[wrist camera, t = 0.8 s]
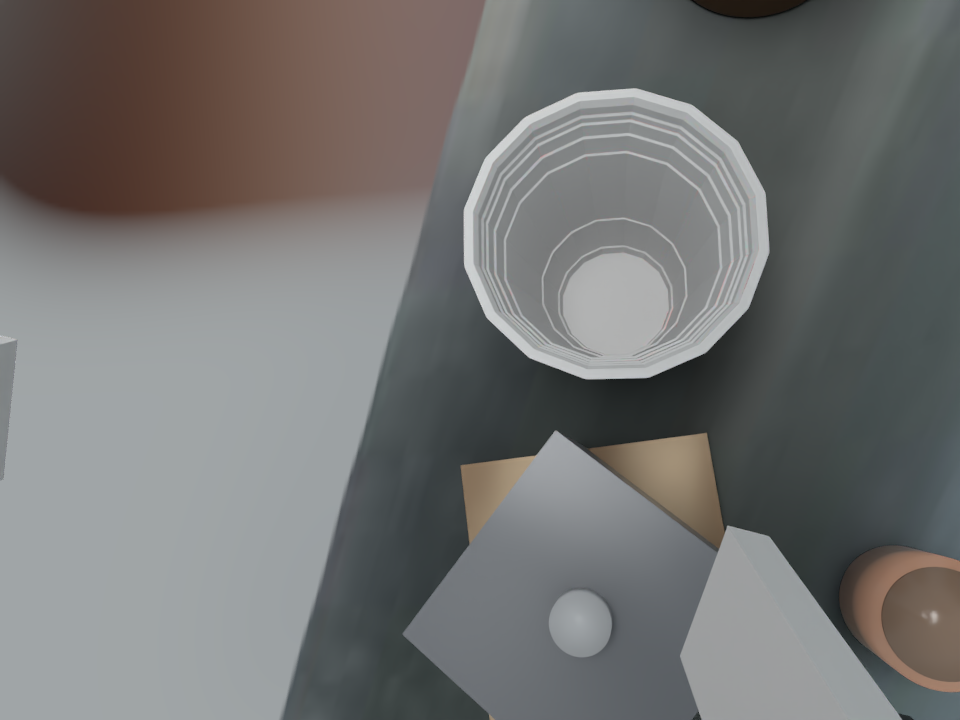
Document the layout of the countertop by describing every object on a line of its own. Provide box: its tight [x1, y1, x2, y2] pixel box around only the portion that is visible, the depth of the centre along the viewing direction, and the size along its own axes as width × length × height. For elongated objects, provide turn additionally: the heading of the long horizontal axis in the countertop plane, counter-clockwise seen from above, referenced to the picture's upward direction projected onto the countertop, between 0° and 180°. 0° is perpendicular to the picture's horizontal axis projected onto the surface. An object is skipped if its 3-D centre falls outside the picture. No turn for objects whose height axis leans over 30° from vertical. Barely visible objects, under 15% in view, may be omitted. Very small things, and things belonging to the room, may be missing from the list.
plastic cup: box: [464, 88, 770, 379], centre depth 31 cm, size 11×11×12 cm
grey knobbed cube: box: [403, 430, 719, 720], centre depth 28 cm, size 9×9×11 cm
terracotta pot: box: [839, 545, 960, 692], centre depth 30 cm, size 5×5×5 cm
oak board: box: [461, 433, 725, 720], centre depth 34 cm, size 12×12×1 cm
